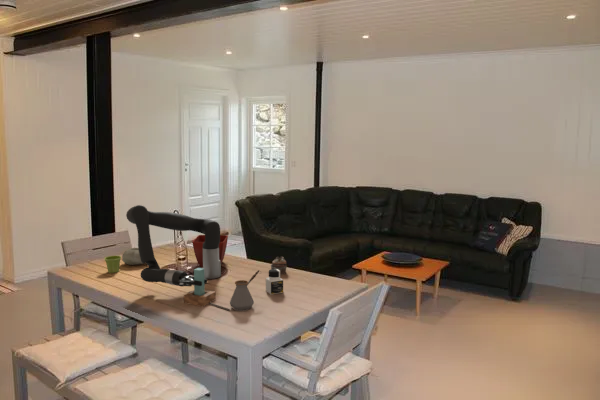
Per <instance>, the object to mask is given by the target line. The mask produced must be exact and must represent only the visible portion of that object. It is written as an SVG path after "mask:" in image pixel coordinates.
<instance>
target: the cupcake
mask: <svg viewBox="0 0 600 400" xmlns="http://www.w3.org/2000/svg"><path fill="white" fill-rule="evenodd" d="M287 267H288V264H287V260H286V259H285V258H284V256H280V257H279V256H276V257H275V258H274V260H272V263H271V264H270V270H271V269H278V270H280V276H283V275H285V274H286V271H287Z"/></svg>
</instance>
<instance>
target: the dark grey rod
mask: <svg viewBox="0 0 600 400" xmlns="http://www.w3.org/2000/svg"><path fill="white" fill-rule="evenodd" d="M208 305H212V306H214V307H217V308H220V309H223V310H226V311H229V312H230V308H227V307H225V306H222V305H219V304H216V303H213V302H209V303H208Z"/></svg>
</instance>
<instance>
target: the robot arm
mask: <svg viewBox="0 0 600 400" xmlns="http://www.w3.org/2000/svg"><path fill="white" fill-rule="evenodd" d="M125 217H126V219H127V220H128V221H129V223H131V224H134V225H135V227H136V230H137V248H138V250H139V255H140V259H141V262H142V263H145V264H146V265H147V267H144V268H143V269H142V270H140V271H141V272H140V278H141V279H142V280H143V281H144V282H148V283H164V284H167V285H168V284H169V285H171V286H177V287H192V286H194V285H197V286H202V281H195V280H194V275H192V274H188V273H187V272H186V271H184V270H176V269H168V268H161V267H160V265H159V263H158V261H157V259H156V257H155V253H154V248H153V244H152V239H151V232H150V226H154V227H159V228H161V229H162V228H163V229H166V230H167V229H168V230H172V231H178V232H179V231H181V232H187V231H193V232H197V233H198V234H199V233H200V234H201V235H205V242H204V243H203V267H202V268H203V269H204V284H205V285H206V284H208V279H209V280H211V279H217V278H220V277H221V276H222V267H221V266H222V263H221V261H220V260H219V243H220V235H221V227H220V226H221V225H220V224H219V222H217V221H216V220H212V219H209V218H195V217H191V216H188V215H185V214H181V213H176V212H172V211H171V212H168V211H150V210H148V209H147V208H146V206H144V205H142V204H139V205H138V204H137V205H134V206H133V207H131V208H129V209H128V210H127V212H126V215H125Z"/></svg>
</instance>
